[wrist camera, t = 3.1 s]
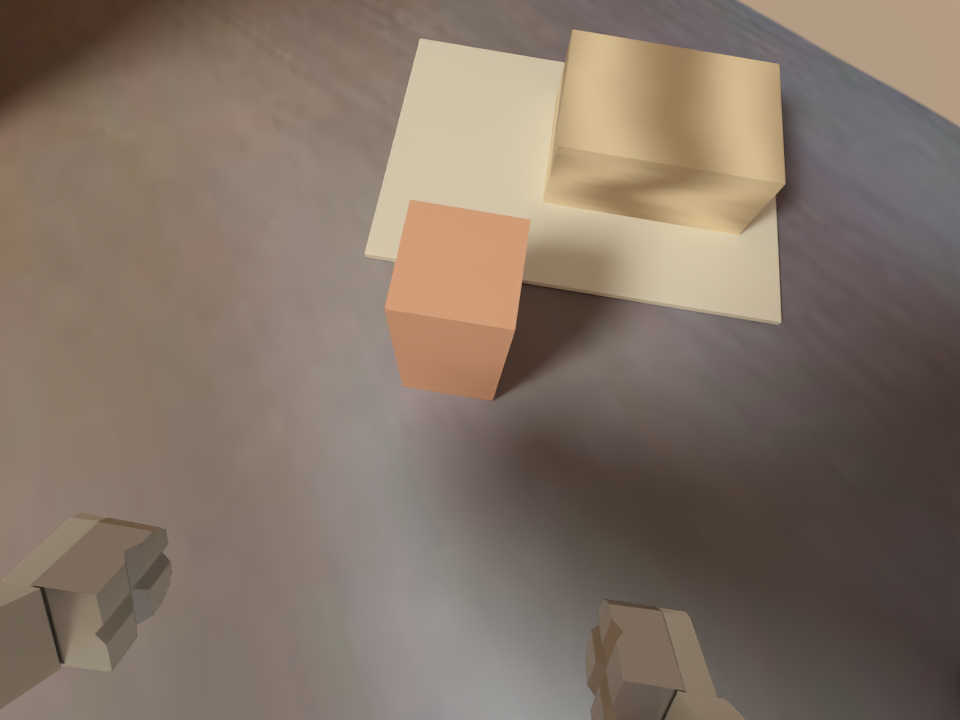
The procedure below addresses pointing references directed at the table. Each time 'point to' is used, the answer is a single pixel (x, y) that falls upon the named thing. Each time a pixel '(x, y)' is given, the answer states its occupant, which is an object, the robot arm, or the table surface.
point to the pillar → (455, 297)
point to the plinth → (665, 134)
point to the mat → (554, 228)
